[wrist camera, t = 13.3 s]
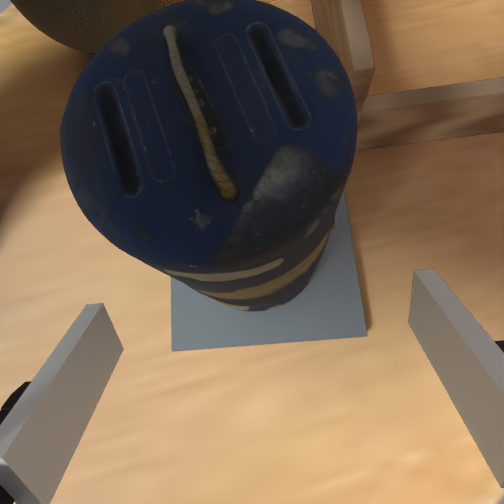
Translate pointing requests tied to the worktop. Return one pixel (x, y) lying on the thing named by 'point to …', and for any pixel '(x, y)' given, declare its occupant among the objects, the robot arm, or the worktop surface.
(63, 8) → the kiwi fruit
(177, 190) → the canister
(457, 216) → the worktop surface
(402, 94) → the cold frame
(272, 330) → the slate tile
